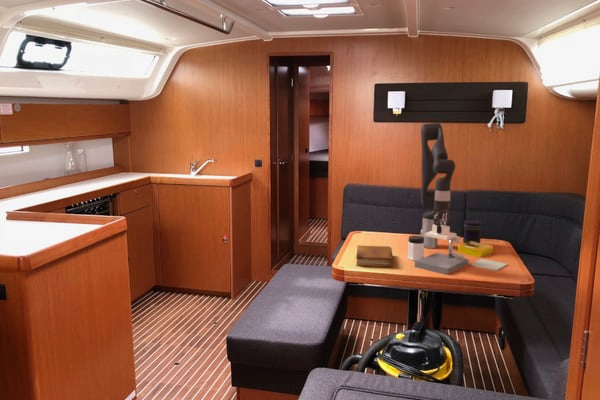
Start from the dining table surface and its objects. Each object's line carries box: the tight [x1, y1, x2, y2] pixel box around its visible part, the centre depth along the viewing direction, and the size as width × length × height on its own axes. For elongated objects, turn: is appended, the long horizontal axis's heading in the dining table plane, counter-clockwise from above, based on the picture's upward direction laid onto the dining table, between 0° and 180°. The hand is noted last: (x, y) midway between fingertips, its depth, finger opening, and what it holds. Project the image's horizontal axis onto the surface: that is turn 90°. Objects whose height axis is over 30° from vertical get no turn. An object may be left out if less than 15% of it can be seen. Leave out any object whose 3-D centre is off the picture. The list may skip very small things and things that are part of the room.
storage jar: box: [462, 219, 482, 244], centre depth 288 cm, size 10×10×15 cm
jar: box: [406, 235, 425, 262], centre depth 262 cm, size 9×8×12 cm
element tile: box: [456, 241, 494, 258], centre depth 275 cm, size 15×15×5 cm
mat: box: [469, 258, 508, 272], centre depth 251 cm, size 14×14×1 cm
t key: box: [447, 235, 465, 258], centre depth 253 cm, size 2×14×11 cm, turn 26°
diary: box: [355, 245, 394, 269], centre depth 259 cm, size 23×19×6 cm
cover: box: [425, 225, 457, 241], centre depth 245 cm, size 12×10×6 cm
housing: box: [414, 252, 470, 276], centre depth 250 cm, size 18×23×3 cm
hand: (440, 232), depth 245 cm, fingers closed on cover, 3 cm apart
